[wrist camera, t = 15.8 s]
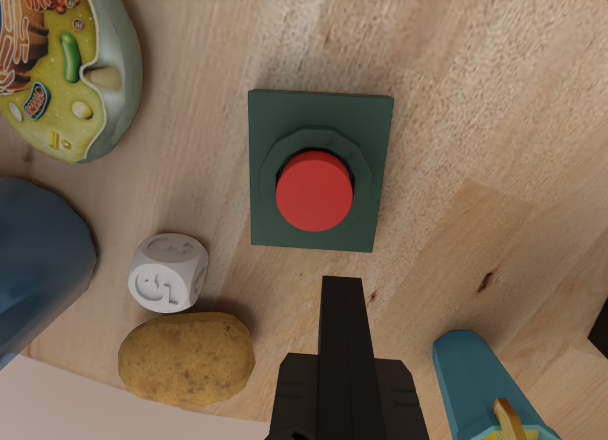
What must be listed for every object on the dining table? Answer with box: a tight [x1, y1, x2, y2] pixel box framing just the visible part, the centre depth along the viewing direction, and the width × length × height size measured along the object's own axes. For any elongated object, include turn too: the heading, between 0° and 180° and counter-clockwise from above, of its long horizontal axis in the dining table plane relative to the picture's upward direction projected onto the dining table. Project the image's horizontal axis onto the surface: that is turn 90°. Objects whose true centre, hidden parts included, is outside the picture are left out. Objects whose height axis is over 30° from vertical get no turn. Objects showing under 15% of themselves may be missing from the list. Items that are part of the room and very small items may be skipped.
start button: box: [276, 151, 353, 231], centre depth 23 cm, size 5×5×3 cm
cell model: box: [0, 0, 143, 165], centre depth 22 cm, size 11×8×15 cm
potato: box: [118, 312, 256, 408], centre depth 32 cm, size 9×13×7 cm
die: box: [128, 233, 208, 313], centre depth 30 cm, size 5×5×5 cm
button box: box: [248, 89, 394, 253], centre depth 26 cm, size 12×10×4 cm
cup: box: [433, 330, 562, 440], centre depth 28 cm, size 14×8×15 cm, turn 29°
